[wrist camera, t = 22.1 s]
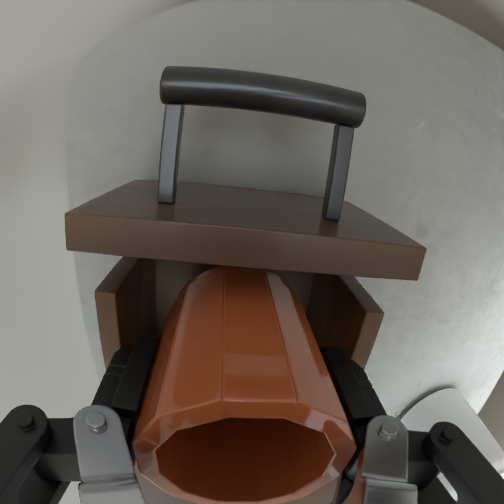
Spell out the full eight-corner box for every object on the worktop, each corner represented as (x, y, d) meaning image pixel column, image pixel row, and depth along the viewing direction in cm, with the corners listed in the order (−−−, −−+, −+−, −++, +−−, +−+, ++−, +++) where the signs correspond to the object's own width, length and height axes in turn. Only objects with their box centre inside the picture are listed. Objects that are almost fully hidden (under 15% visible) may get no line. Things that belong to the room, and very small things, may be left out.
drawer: (143, 88, 14) (76, 52, 7) (361, 115, 15) (451, 105, 8) (143, 398, 21) (122, 484, 13) (297, 407, 22) (318, 493, 15)
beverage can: (445, 424, 27) (488, 497, 16) (385, 445, 27) (422, 532, 16) (467, 375, 24) (528, 453, 13) (402, 397, 24) (458, 497, 13)
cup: (171, 257, 12) (116, 386, 5) (314, 270, 12) (387, 395, 6) (171, 369, 14) (148, 500, 7) (289, 377, 14) (320, 503, 8)
